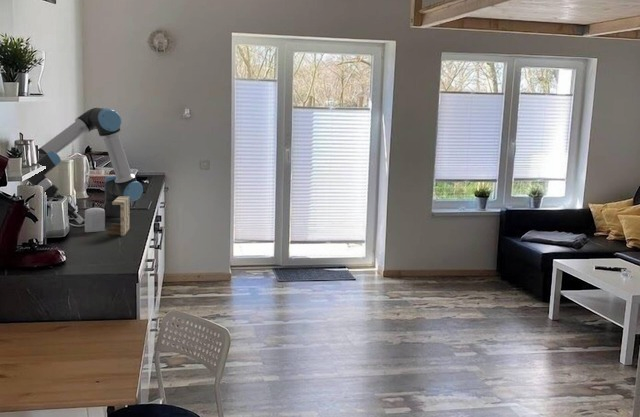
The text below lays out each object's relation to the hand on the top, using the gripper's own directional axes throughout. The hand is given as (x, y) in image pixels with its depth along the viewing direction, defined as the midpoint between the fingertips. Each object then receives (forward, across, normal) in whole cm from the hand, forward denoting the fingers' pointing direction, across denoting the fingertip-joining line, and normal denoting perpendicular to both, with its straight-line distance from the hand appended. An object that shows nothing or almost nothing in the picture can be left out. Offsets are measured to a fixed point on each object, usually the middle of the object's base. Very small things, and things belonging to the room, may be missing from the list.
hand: (82, 222), depth 319 cm
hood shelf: (+16, -1, +9) cm, 19 cm away
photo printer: (+8, -1, +1) cm, 8 cm away
